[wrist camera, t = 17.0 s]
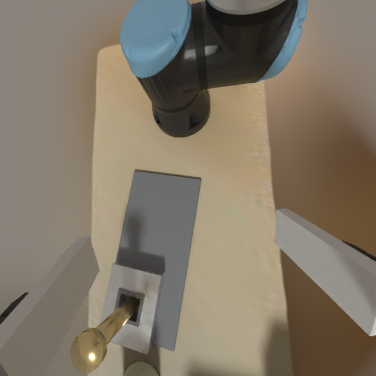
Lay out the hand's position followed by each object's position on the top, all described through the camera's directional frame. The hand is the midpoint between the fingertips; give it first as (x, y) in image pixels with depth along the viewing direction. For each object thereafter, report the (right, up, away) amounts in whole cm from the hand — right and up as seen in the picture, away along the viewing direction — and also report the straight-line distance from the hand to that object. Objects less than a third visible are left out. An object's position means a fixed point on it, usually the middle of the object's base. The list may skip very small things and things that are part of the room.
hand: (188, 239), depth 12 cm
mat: (-9, -12, +31) cm, 34 cm away
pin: (-13, -23, +29) cm, 39 cm away
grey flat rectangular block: (-13, -23, +29) cm, 39 cm away
